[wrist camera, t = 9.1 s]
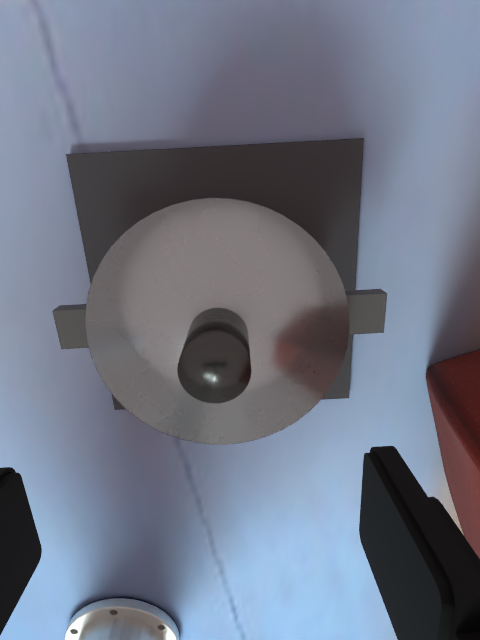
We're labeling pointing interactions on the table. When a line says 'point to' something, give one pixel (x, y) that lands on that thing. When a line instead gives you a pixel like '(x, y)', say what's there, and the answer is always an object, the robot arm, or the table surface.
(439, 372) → the plant pot
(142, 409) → the lid
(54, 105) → the table surface
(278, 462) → the table surface
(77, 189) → the plate
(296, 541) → the table surface
